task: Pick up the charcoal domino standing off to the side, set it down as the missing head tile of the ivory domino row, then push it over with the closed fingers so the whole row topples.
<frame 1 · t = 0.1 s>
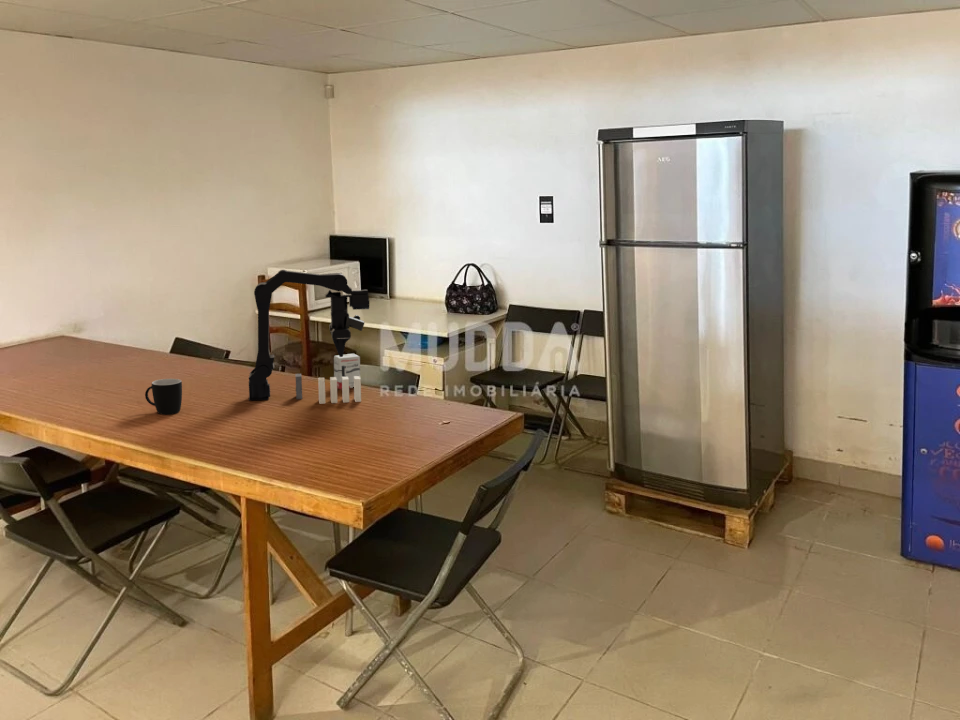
hand: (340, 354, 272), 15 cm above the table, fingers open, 9 cm apart
domino 4: (357, 400, 267), on the table
domino 2: (334, 401, 266), on the table
domino 3: (345, 400, 267), on the table
ink box: (347, 387, 286), on the table
mug: (164, 412, 250), on the table
domino 1: (322, 401, 265), on the table
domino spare: (299, 397, 270), on the table
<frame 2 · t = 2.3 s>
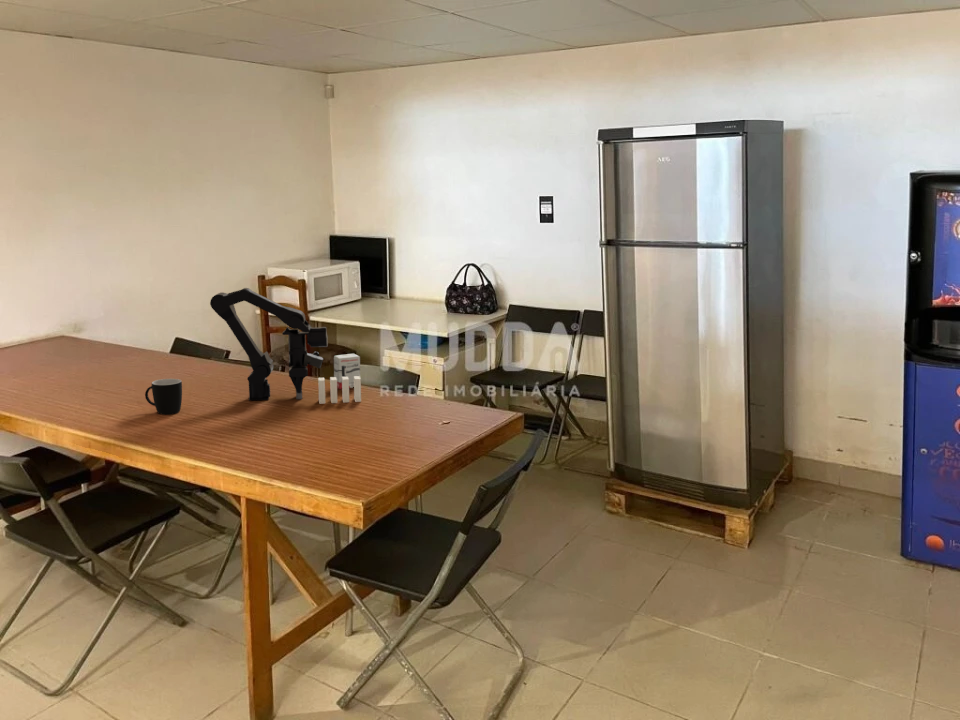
hand: (299, 391, 270), 2 cm above the table, fingers closed on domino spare, 4 cm apart
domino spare: (299, 397, 270), on the table, touching gripper
everything else where it was.
when the fingers open (3 cm above the table, at t = 6.1 s): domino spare stays where it is, on the table.
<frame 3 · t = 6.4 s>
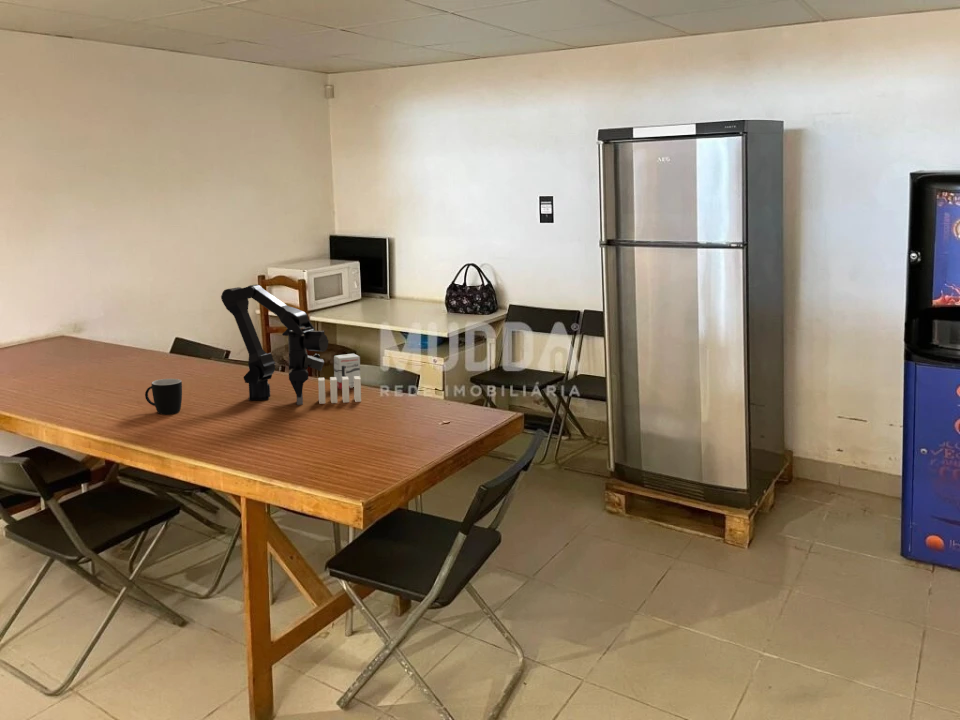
hand: (299, 394, 262), 3 cm above the table, fingers open, 7 cm apart
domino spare: (299, 403, 263), on the table
everything else where it was.
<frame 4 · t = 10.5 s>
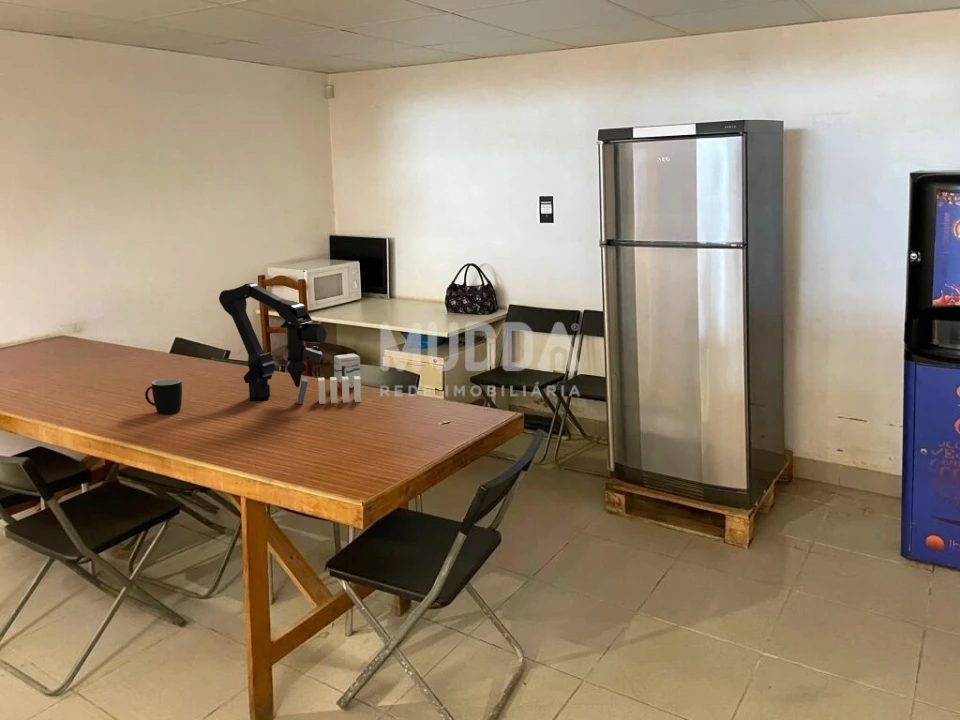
hand: (297, 387, 262), 6 cm above the table, fingers closed
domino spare: (299, 402, 263), on the table, tilted 14°
everything else where it was.
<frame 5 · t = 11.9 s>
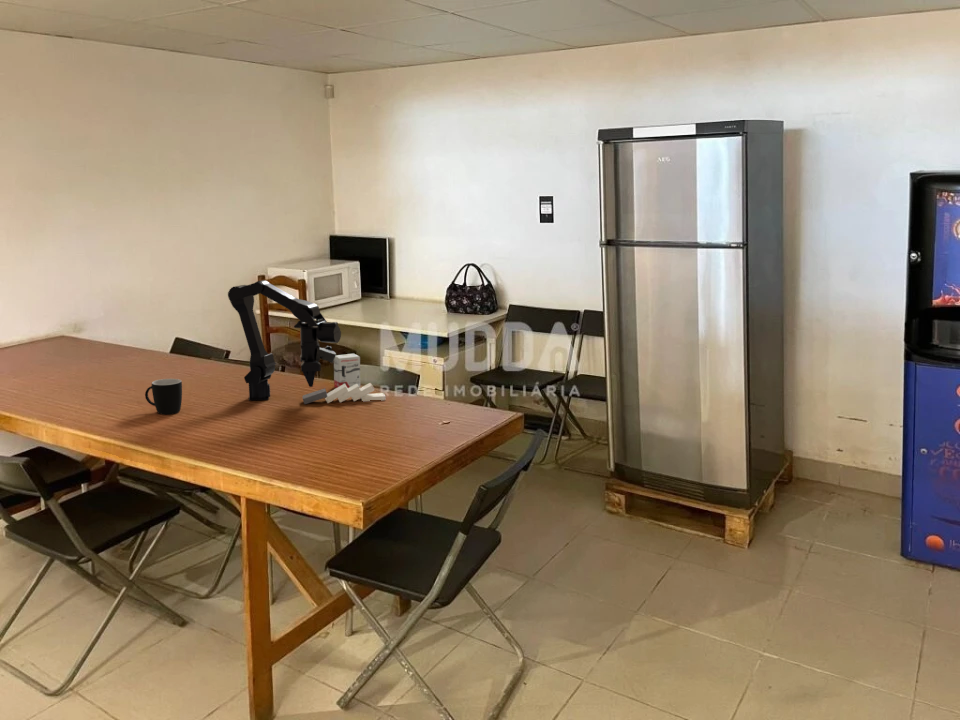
hand: (311, 386, 263), 5 cm above the table, fingers closed
domino 4: (361, 398, 268), on the table, tilted 90°
domino 2: (338, 398, 266), point 1 cm above the table, tilted 63°, touching domino 1, domino 3
domino 3: (351, 397, 267), point 1 cm above the table, tilted 64°, touching domino 2
domino 1: (326, 399, 265), point 1 cm above the table, tilted 61°, touching domino 2, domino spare
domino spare: (303, 400, 263), point 1 cm above the table, tilted 73°, touching domino 1
everything else where it was.
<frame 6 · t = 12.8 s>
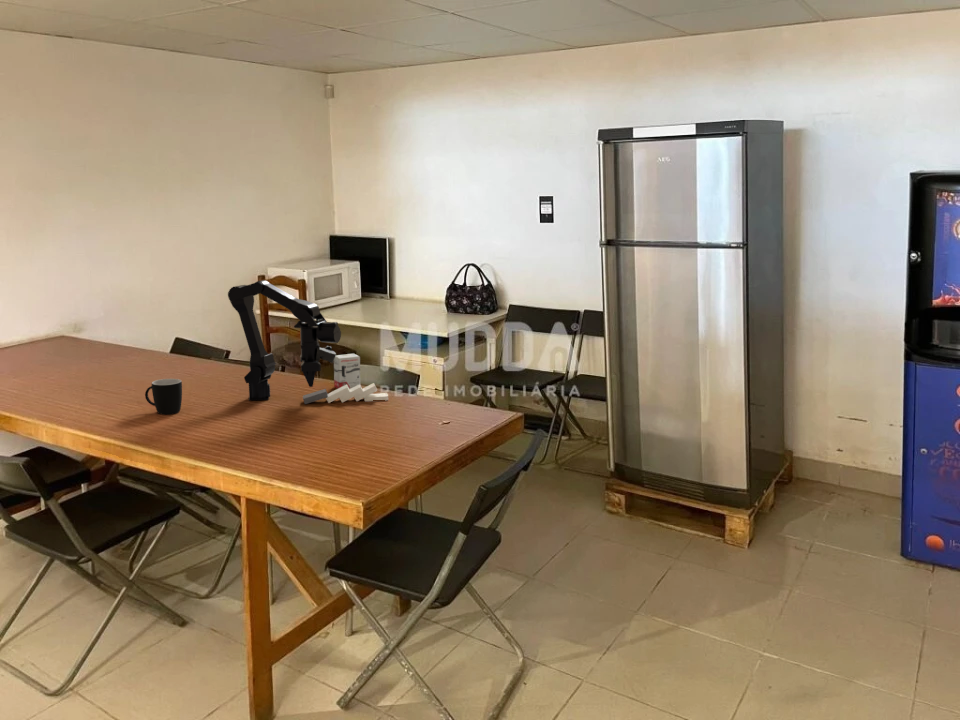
hand: (311, 386, 263), 5 cm above the table, fingers closed
domino 4: (364, 398, 268), on the table, tilted 90°, touching domino 3
domino 3: (354, 397, 267), point 1 cm above the table, tilted 64°, touching domino 2, domino 4
domino 1: (327, 399, 265), point 1 cm above the table, tilted 64°, touching domino 2
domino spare: (303, 399, 263), point 1 cm above the table, tilted 75°
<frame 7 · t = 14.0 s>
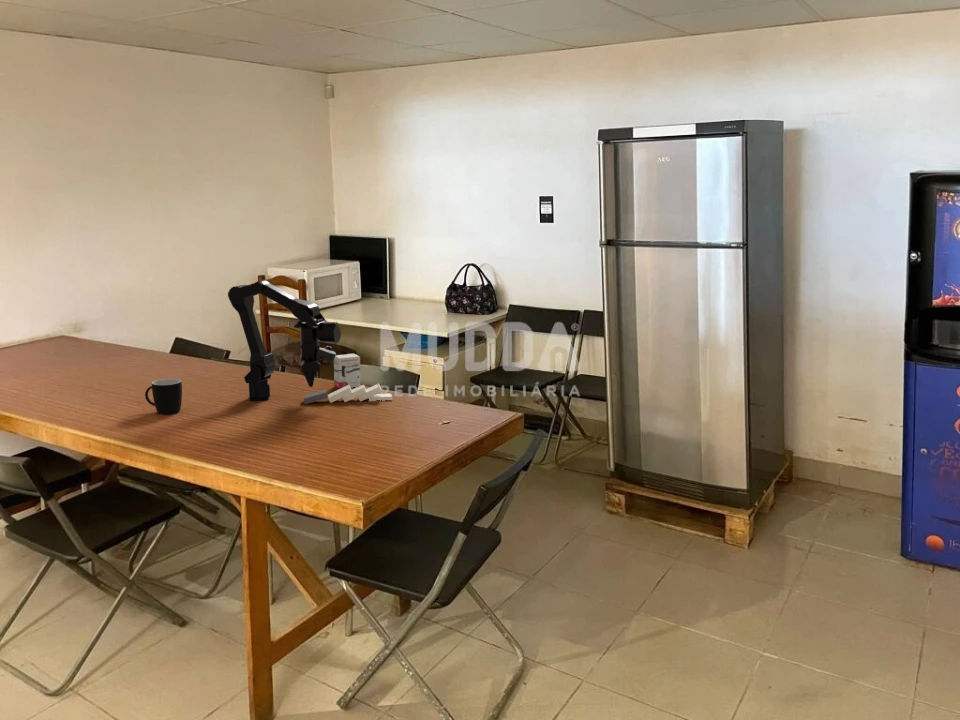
hand: (311, 386, 263), 5 cm above the table, fingers closed
domino 4: (368, 398, 268), on the table, tilted 90°, touching domino 3
domino 2: (343, 398, 266), point 1 cm above the table, tilted 66°, touching domino 1, domino 3
domino 3: (359, 397, 267), point 1 cm above the table, tilted 66°, touching domino 2, domino 4
domino 1: (329, 398, 265), point 1 cm above the table, tilted 65°, touching domino 2, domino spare
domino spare: (304, 399, 263), point 1 cm above the table, tilted 76°, touching domino 1
everything else where it was.
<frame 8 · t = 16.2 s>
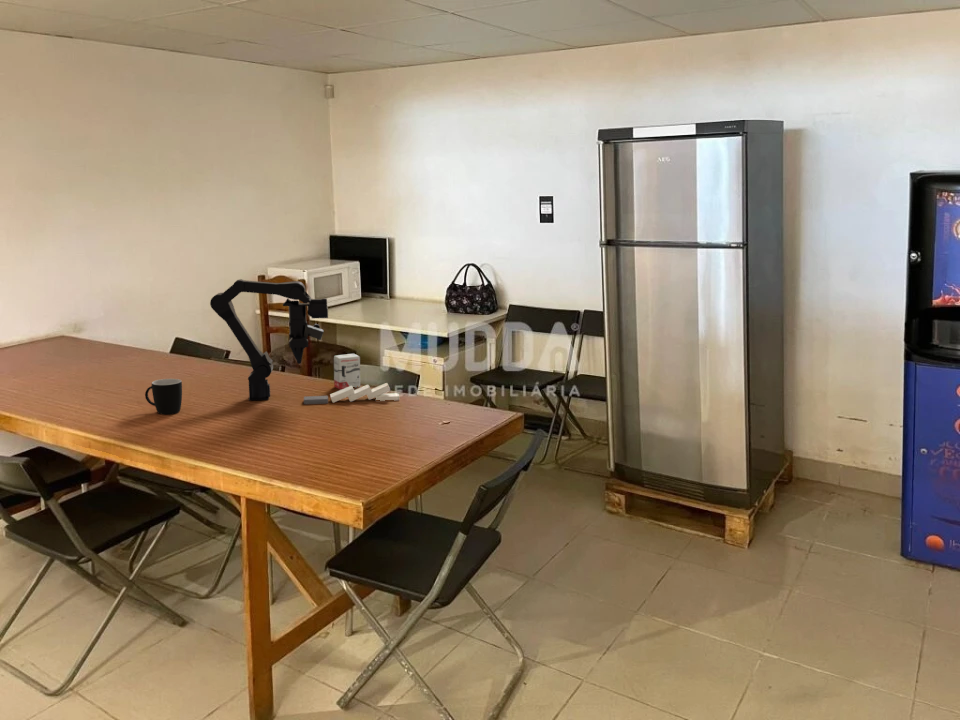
hand: (299, 363, 268), 12 cm above the table, fingers closed
domino 4: (375, 398, 269), on the table, tilted 90°, touching domino 3
domino 2: (348, 397, 267), point 1 cm above the table, tilted 68°, touching domino 3
domino 3: (367, 395, 268), point 1 cm above the table, tilted 68°, touching domino 2, domino 4
domino 1: (331, 398, 265), point 1 cm above the table, tilted 69°
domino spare: (304, 401, 263), point 1 cm above the table, tilted 90°
everything else where it was.
at the end: domino 4 tilted 90°; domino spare tilted 90° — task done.
